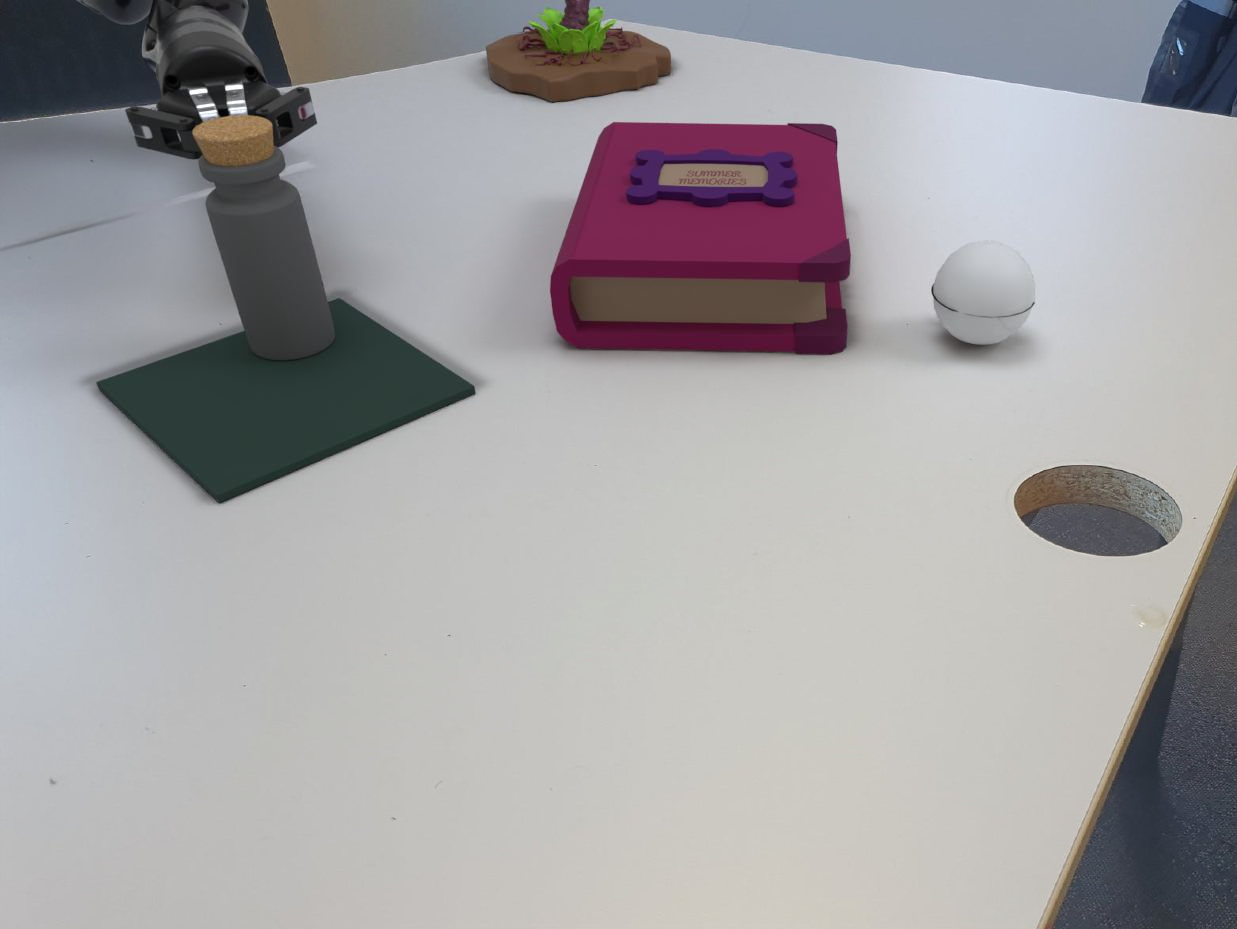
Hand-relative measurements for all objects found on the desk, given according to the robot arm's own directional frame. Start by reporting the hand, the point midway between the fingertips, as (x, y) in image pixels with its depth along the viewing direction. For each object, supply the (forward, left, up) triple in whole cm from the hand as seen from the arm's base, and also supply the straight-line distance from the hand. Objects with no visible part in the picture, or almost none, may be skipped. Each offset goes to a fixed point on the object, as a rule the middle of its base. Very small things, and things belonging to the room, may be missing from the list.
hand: (237, 157), depth 75 cm
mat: (-4, -8, -12) cm, 16 cm away
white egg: (+35, -37, -13) cm, 53 cm away
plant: (+54, +35, -13) cm, 65 cm away
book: (+30, -14, -13) cm, 35 cm away
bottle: (-1, -3, -12) cm, 13 cm away
